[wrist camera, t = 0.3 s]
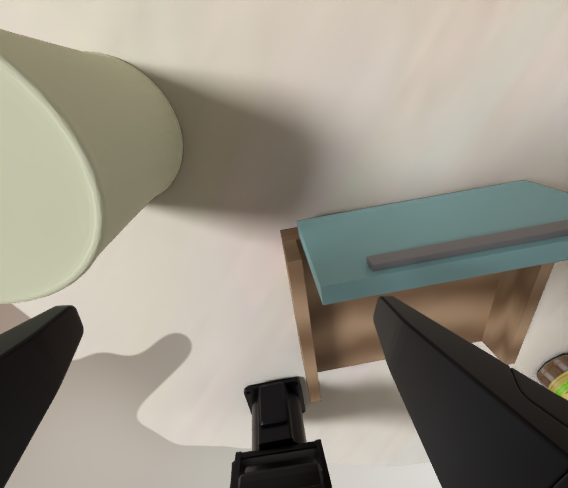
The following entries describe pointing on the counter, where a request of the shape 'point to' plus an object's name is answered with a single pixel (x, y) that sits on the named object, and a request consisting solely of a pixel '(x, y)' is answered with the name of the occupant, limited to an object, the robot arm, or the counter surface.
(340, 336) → the flatbed
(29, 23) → the counter surface
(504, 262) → the teal flat rectangular block
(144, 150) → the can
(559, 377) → the sauce bottle
